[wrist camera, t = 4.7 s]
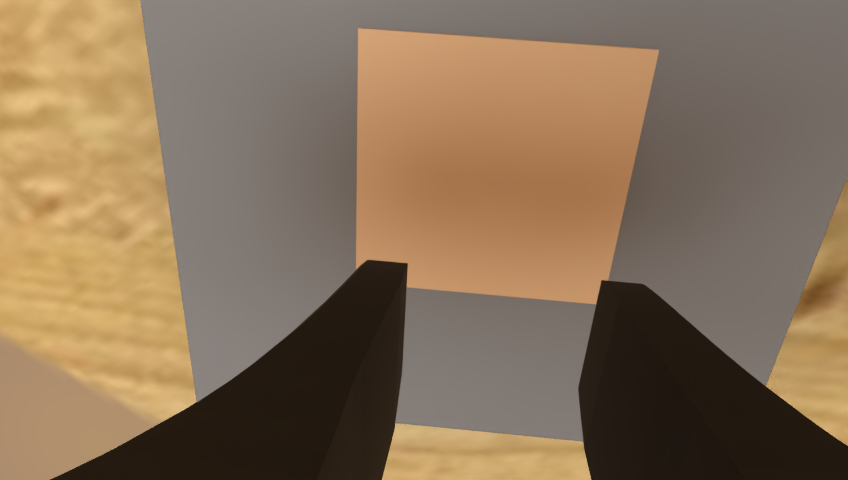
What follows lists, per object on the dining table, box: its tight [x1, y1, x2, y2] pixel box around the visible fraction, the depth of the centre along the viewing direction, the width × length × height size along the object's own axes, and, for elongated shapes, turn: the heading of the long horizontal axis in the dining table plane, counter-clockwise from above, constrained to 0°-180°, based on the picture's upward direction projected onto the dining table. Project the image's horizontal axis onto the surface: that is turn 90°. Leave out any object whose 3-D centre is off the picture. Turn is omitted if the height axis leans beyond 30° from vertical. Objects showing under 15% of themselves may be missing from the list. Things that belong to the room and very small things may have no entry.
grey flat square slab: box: [140, 0, 848, 442], centre depth 16 cm, size 16×16×3 cm
